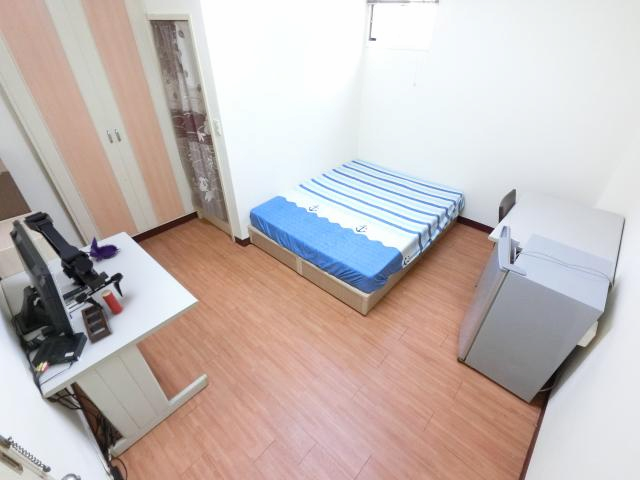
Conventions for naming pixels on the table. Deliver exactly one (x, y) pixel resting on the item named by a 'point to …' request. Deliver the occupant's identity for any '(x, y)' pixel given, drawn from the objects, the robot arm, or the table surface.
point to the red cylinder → (111, 301)
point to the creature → (102, 250)
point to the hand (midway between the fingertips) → (113, 302)
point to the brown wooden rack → (97, 325)
